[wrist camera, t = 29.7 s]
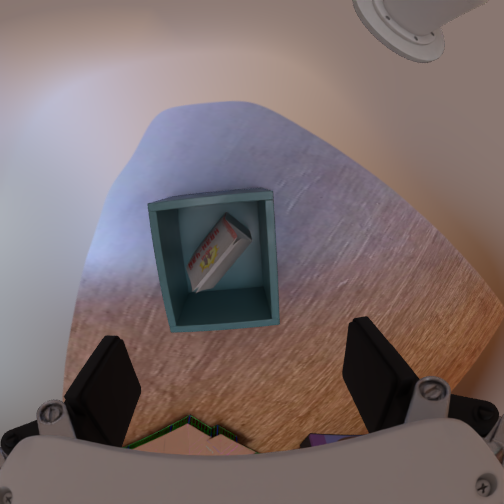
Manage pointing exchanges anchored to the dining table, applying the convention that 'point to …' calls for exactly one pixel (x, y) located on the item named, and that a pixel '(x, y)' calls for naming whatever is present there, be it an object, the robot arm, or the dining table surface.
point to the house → (192, 442)
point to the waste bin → (239, 274)
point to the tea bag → (218, 252)
